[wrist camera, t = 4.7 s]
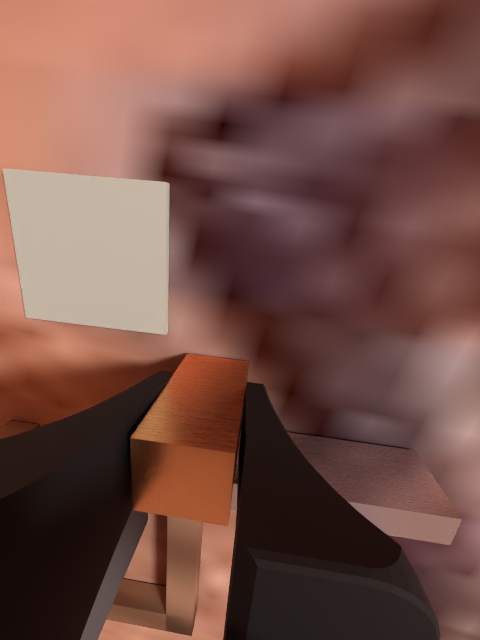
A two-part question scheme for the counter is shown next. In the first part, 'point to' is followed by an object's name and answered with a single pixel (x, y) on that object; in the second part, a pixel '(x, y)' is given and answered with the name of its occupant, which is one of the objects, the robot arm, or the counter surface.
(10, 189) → the off-white flat square block
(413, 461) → the latch bar
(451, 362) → the counter surface
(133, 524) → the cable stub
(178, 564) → the frame
